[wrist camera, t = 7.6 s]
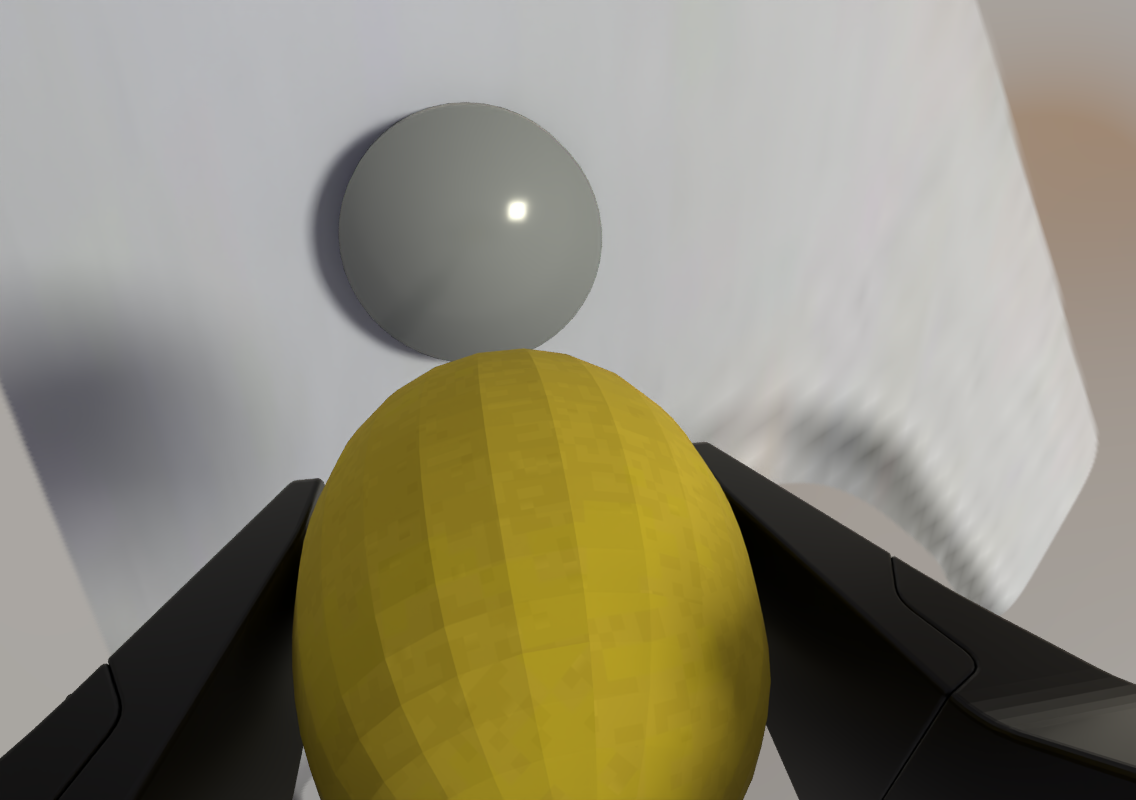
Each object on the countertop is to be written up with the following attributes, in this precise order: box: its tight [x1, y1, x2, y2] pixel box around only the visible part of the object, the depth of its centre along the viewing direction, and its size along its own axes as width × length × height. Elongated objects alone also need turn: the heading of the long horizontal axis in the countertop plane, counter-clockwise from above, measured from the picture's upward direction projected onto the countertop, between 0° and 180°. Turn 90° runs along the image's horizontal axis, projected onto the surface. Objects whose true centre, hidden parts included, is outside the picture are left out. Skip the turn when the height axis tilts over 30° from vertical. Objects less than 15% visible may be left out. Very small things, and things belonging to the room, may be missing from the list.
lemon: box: [292, 348, 771, 800], centre depth 8 cm, size 6×6×8 cm
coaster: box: [339, 102, 602, 362], centre depth 19 cm, size 8×8×1 cm
